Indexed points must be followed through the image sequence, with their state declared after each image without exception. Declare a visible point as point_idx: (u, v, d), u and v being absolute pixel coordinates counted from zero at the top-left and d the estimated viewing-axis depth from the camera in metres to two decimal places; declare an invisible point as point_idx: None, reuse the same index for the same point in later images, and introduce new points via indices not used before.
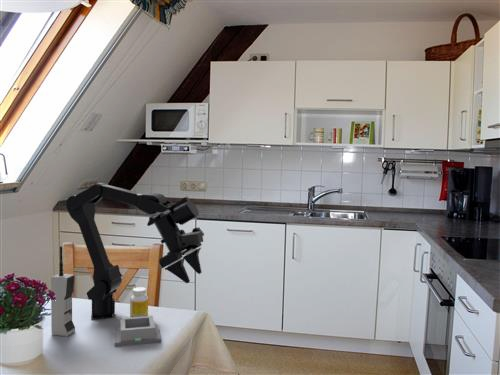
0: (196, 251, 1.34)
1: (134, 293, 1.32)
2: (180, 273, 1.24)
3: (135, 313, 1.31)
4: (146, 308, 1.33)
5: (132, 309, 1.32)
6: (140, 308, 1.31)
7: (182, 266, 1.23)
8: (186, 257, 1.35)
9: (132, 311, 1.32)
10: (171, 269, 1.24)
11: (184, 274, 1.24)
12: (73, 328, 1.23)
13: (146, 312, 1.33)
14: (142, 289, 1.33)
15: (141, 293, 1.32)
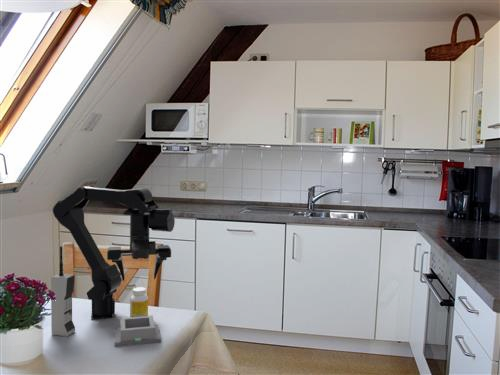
0: (157, 259, 1.32)
1: (134, 293, 1.32)
2: None
3: (135, 313, 1.31)
4: (146, 308, 1.33)
5: (132, 309, 1.32)
6: (140, 308, 1.31)
7: (119, 265, 1.30)
8: None
9: (132, 311, 1.32)
10: None
11: (120, 272, 1.31)
12: (73, 328, 1.23)
13: (146, 312, 1.33)
14: (142, 289, 1.33)
15: (141, 293, 1.32)
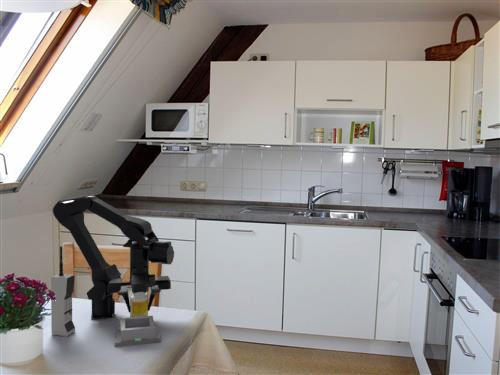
0: (151, 292, 1.32)
1: (134, 293, 1.32)
2: None
3: (135, 313, 1.31)
4: (146, 308, 1.33)
5: (132, 309, 1.32)
6: (140, 308, 1.31)
7: (125, 298, 1.31)
8: None
9: (132, 311, 1.32)
10: None
11: (126, 304, 1.32)
12: (73, 328, 1.23)
13: (146, 312, 1.33)
14: None
15: (141, 293, 1.32)
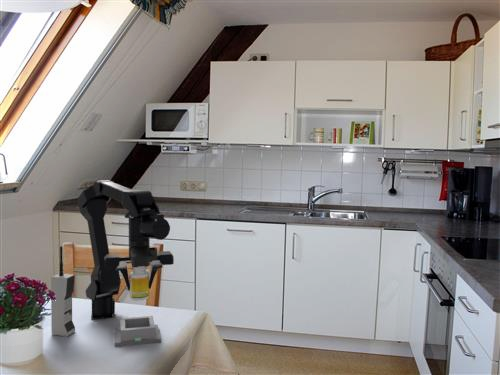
0: (152, 267, 1.21)
1: (133, 269, 1.21)
2: None
3: (135, 291, 1.20)
4: (147, 285, 1.22)
5: (132, 286, 1.21)
6: (140, 285, 1.20)
7: (124, 274, 1.20)
8: (150, 265, 1.25)
9: (132, 289, 1.21)
10: None
11: (125, 281, 1.21)
12: (73, 328, 1.23)
13: (147, 290, 1.22)
14: None
15: (141, 269, 1.21)
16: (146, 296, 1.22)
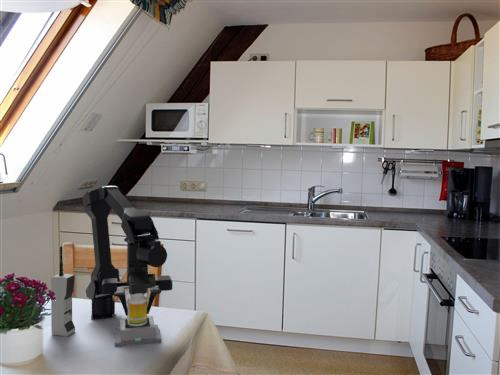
0: (150, 293, 1.19)
1: (131, 294, 1.19)
2: None
3: (133, 317, 1.18)
4: (145, 311, 1.20)
5: (129, 312, 1.19)
6: (138, 311, 1.18)
7: (122, 299, 1.18)
8: (149, 289, 1.23)
9: (129, 314, 1.19)
10: None
11: (123, 306, 1.19)
12: (73, 328, 1.23)
13: (145, 315, 1.20)
14: None
15: (139, 294, 1.19)
16: (144, 322, 1.20)
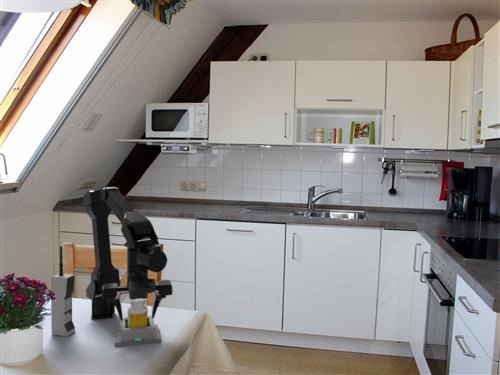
0: (155, 298, 1.20)
1: (132, 304, 1.19)
2: None
3: (133, 327, 1.19)
4: (145, 321, 1.20)
5: (130, 322, 1.19)
6: (138, 320, 1.19)
7: (117, 305, 1.18)
8: (154, 294, 1.24)
9: (130, 324, 1.19)
10: None
11: (118, 312, 1.19)
12: (73, 328, 1.23)
13: (145, 325, 1.20)
14: (141, 299, 1.20)
15: (140, 304, 1.19)
16: None
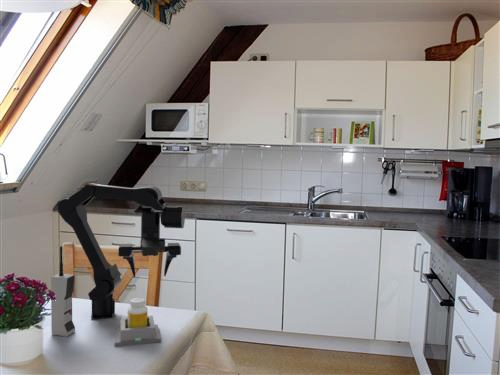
0: (167, 257, 1.34)
1: (132, 304, 1.19)
2: None
3: (133, 327, 1.19)
4: (145, 321, 1.20)
5: (130, 322, 1.19)
6: (138, 321, 1.19)
7: (130, 262, 1.32)
8: (166, 254, 1.38)
9: (130, 324, 1.19)
10: None
11: (131, 269, 1.33)
12: (73, 328, 1.23)
13: (145, 325, 1.20)
14: (141, 300, 1.20)
15: (140, 304, 1.19)
16: None
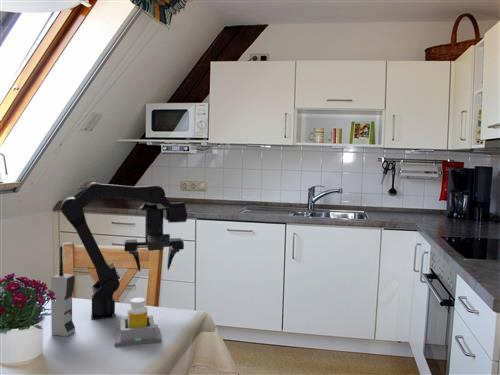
0: (170, 251, 1.41)
1: (132, 304, 1.19)
2: None
3: (133, 327, 1.19)
4: (145, 321, 1.20)
5: (130, 322, 1.19)
6: (138, 321, 1.19)
7: (135, 257, 1.39)
8: (169, 249, 1.45)
9: (130, 324, 1.19)
10: None
11: (136, 263, 1.40)
12: (73, 328, 1.23)
13: (145, 325, 1.20)
14: (141, 300, 1.20)
15: (140, 304, 1.19)
16: None
